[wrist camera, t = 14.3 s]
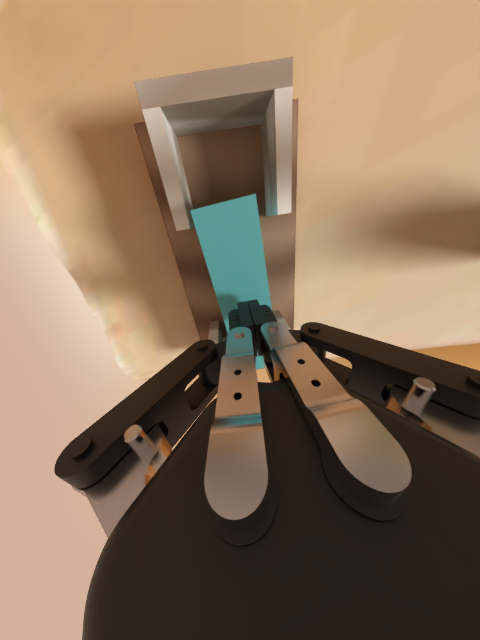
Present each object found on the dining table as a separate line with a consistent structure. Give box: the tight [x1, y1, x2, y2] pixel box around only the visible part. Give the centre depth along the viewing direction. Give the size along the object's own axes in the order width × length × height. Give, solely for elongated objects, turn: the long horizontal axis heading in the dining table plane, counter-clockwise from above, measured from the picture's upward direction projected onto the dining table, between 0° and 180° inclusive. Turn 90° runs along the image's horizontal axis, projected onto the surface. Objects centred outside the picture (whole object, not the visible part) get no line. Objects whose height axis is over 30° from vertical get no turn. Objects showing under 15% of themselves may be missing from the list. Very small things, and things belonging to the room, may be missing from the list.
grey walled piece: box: [134, 57, 298, 370], centre depth 17 cm, size 22×12×6 cm, turn 8°
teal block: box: [190, 194, 272, 369], centre depth 16 cm, size 14×4×6 cm, turn 12°
